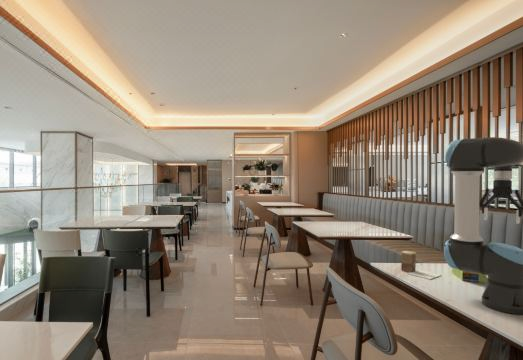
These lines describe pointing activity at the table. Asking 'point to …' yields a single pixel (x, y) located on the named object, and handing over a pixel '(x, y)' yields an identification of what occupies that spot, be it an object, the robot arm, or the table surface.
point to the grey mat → (424, 274)
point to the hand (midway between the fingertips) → (501, 221)
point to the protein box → (469, 276)
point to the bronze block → (408, 261)
